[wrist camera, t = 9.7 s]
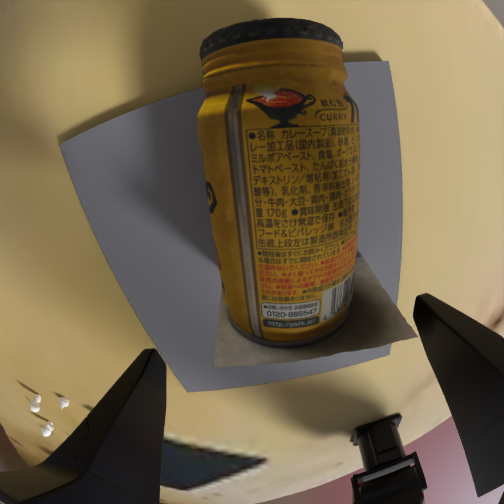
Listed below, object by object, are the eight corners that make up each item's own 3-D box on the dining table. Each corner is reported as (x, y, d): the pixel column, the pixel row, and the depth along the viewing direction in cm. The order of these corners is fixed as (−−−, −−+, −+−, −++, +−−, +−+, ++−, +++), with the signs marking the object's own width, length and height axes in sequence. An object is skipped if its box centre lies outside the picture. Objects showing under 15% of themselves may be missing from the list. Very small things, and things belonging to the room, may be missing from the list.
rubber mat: (387, 349, 23) (389, 354, 22) (188, 387, 24) (187, 392, 24) (383, 61, 12) (388, 61, 11) (64, 142, 13) (59, 144, 13)
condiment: (223, 274, 17) (194, 59, 12) (363, 260, 17) (363, 54, 12) (214, 371, 11) (151, 17, 5) (416, 342, 11) (447, 26, 5)
